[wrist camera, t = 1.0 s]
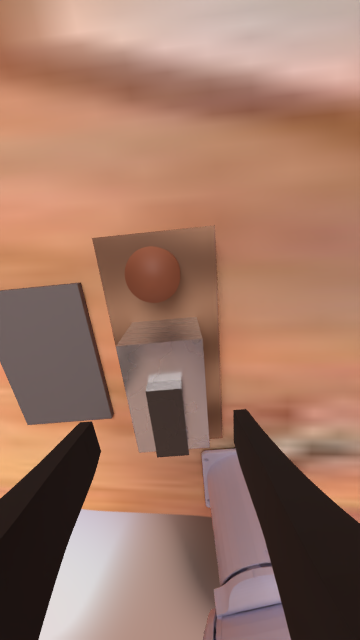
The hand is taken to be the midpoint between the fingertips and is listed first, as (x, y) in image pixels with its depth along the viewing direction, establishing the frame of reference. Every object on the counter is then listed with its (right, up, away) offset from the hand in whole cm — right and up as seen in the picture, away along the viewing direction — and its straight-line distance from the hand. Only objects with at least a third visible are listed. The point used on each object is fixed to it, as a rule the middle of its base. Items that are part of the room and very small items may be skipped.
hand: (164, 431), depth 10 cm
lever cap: (0, +2, +6) cm, 6 cm away
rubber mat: (-11, +2, +9) cm, 15 cm away
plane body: (0, +4, +8) cm, 9 cm away
